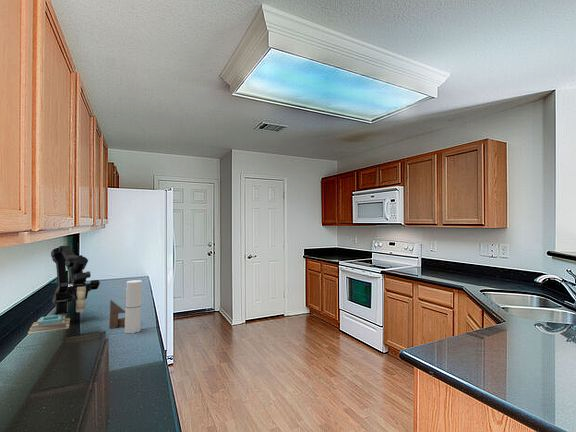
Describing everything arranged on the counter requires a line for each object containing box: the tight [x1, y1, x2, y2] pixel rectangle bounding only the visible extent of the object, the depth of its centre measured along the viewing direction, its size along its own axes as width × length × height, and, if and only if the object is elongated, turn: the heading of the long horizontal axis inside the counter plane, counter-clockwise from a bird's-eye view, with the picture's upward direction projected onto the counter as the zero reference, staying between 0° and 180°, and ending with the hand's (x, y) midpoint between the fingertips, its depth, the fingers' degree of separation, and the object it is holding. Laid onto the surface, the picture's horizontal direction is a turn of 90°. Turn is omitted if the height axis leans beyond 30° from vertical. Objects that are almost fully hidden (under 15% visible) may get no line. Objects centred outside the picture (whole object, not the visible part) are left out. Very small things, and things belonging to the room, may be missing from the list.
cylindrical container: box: [124, 279, 143, 334], centre depth 156 cm, size 7×7×25 cm
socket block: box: [38, 314, 63, 325], centre depth 159 cm, size 9×9×4 cm
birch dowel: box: [75, 286, 86, 313], centre depth 166 cm, size 4×4×13 cm
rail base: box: [27, 315, 71, 335], centre depth 160 cm, size 20×16×3 cm
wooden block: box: [108, 299, 126, 329], centre depth 164 cm, size 4×11×18 cm, turn 126°
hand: (81, 299), depth 165 cm, fingers closed on birch dowel, 4 cm apart
